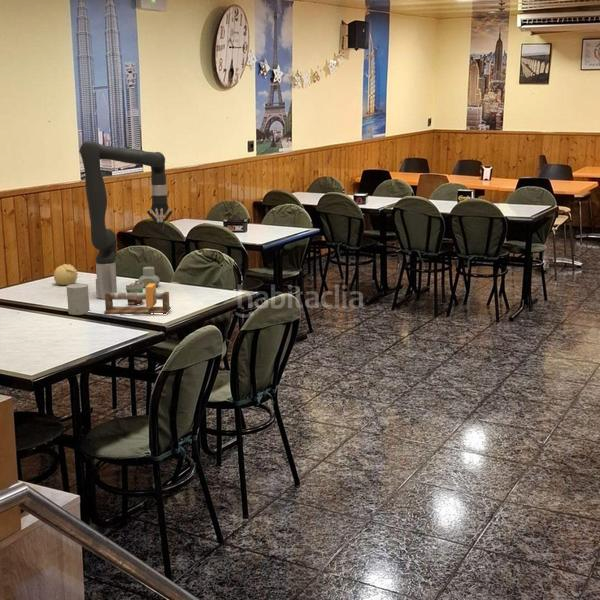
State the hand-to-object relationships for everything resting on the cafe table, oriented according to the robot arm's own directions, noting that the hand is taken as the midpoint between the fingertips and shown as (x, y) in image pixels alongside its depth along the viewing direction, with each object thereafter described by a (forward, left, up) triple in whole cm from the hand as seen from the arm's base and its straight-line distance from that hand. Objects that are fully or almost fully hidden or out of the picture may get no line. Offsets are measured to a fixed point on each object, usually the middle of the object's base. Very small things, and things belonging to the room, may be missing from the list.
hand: (160, 229), depth 419 cm
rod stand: (-4, -38, -32) cm, 50 cm away
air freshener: (-11, +17, -32) cm, 38 cm away
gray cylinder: (-31, -38, -32) cm, 59 cm away
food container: (-8, -21, -32) cm, 39 cm away
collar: (+2, -38, -28) cm, 48 cm away
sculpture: (-56, +22, -32) cm, 68 cm away
